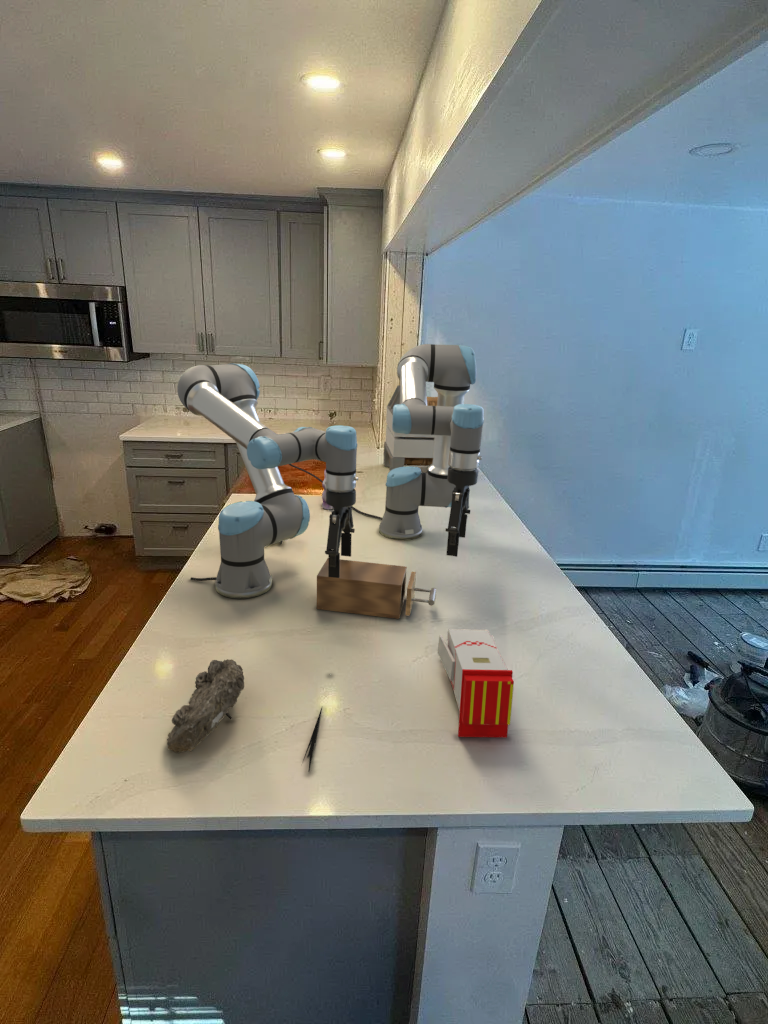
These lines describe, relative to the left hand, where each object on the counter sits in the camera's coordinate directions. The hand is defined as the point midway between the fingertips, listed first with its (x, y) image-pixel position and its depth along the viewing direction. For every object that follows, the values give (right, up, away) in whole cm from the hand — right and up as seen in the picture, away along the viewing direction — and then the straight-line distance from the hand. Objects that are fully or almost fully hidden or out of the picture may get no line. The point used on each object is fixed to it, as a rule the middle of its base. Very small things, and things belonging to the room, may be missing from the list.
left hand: (340, 565), depth 149 cm
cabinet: (+6, -10, +3) cm, 12 cm away
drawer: (+12, -10, +2) cm, 16 cm away
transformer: (+29, +33, +126) cm, 133 cm away
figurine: (-9, +16, +75) cm, 78 cm away
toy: (+29, -23, -30) cm, 48 cm away
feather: (-1, -26, -40) cm, 48 cm away
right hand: (+31, +5, 0) cm, 31 cm away
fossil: (-21, -25, -41) cm, 52 cm away
